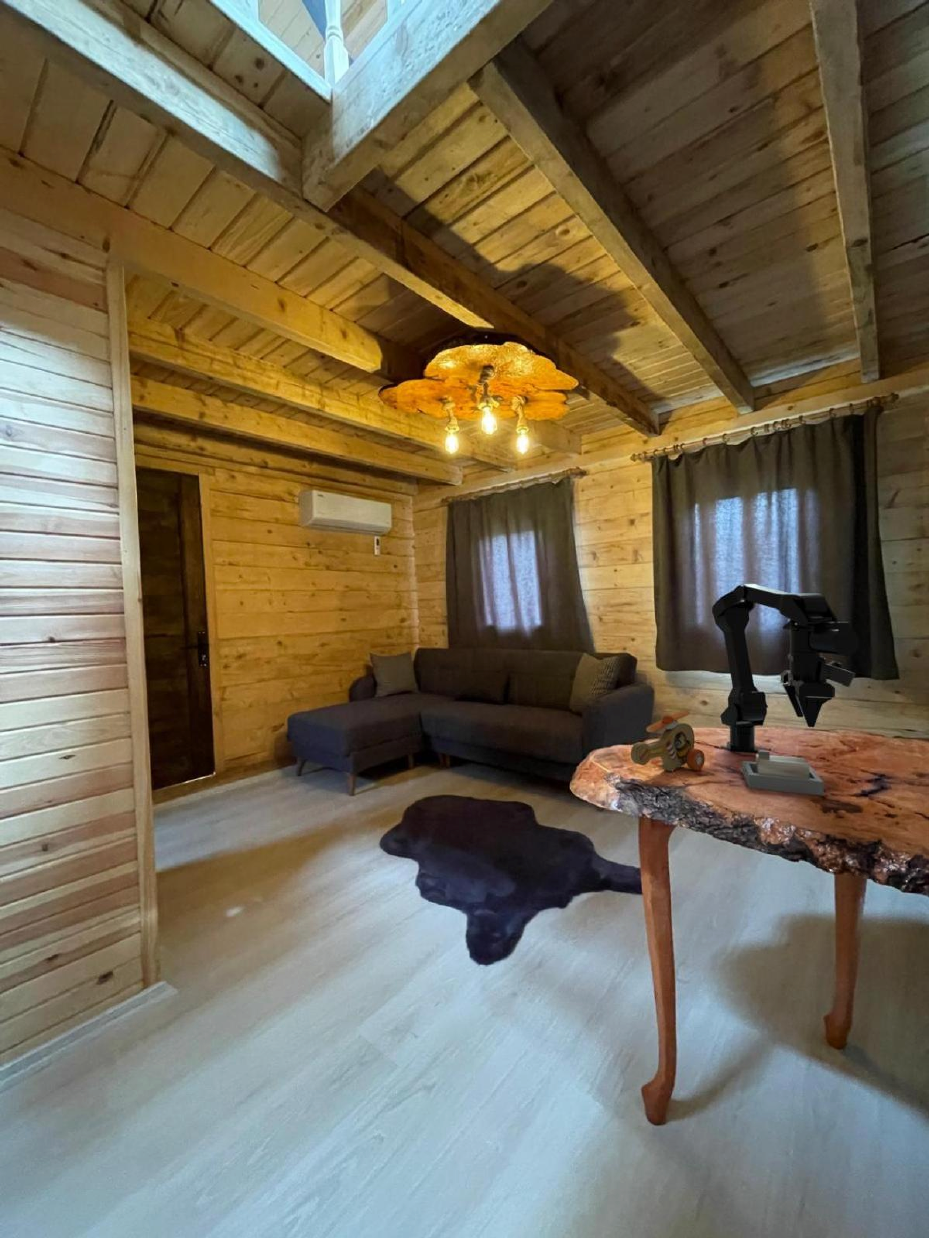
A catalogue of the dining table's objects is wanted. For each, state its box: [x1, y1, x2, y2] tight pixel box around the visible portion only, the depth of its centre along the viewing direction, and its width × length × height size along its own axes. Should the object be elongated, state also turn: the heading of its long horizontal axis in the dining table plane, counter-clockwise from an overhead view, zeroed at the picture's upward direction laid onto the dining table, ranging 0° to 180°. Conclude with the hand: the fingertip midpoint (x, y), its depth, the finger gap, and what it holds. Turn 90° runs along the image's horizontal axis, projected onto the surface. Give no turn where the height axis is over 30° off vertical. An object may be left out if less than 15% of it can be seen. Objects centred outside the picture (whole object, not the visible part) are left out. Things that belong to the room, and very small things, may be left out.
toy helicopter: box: [630, 709, 706, 772], centre depth 115 cm, size 8×21×14 cm, turn 122°
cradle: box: [742, 760, 824, 796], centre depth 107 cm, size 9×13×3 cm
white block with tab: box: [755, 749, 810, 778], centre depth 107 cm, size 4×9×6 cm, turn 68°
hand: (805, 721), depth 110 cm, fingers open, 9 cm apart
